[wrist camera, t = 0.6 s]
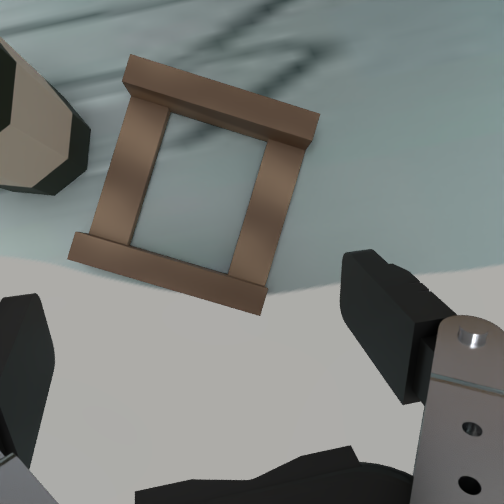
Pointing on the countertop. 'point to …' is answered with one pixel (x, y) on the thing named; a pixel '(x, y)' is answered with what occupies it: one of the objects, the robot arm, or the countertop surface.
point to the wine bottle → (37, 131)
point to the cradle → (142, 163)
